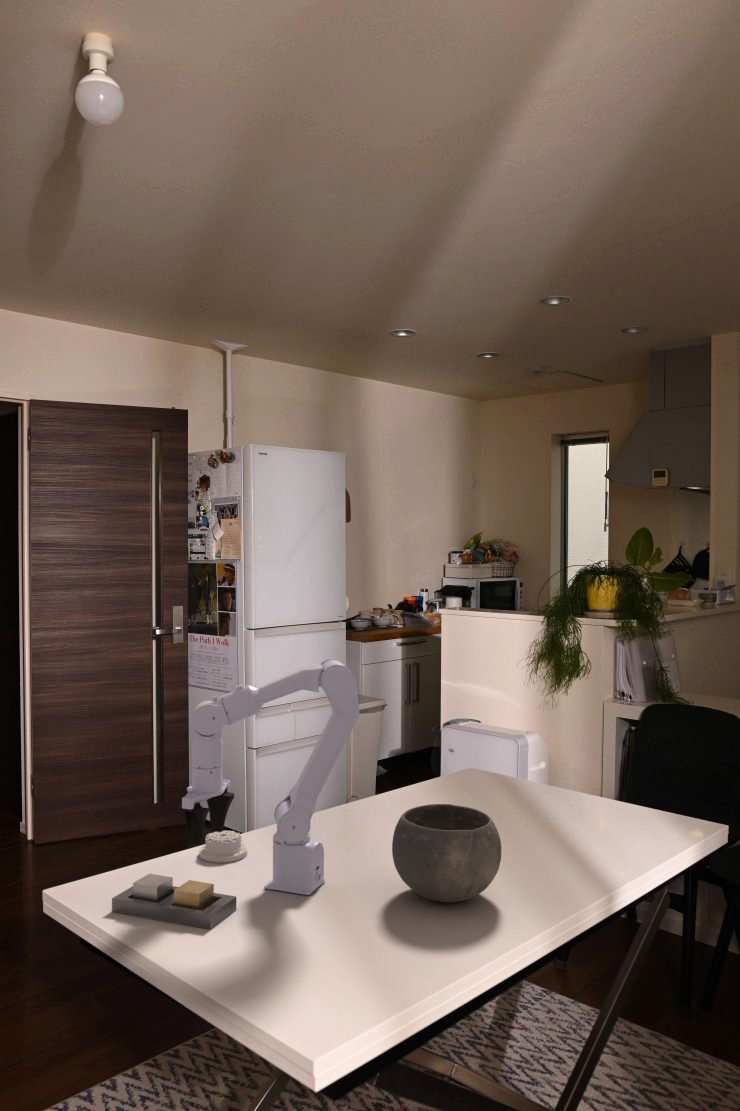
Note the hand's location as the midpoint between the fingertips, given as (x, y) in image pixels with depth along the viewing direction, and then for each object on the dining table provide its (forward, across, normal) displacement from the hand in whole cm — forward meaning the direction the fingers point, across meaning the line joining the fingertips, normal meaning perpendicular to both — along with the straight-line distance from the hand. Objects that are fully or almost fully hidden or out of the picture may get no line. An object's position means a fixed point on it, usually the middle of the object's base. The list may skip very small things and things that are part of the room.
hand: (206, 837), depth 171 cm
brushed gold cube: (+10, +11, +4) cm, 15 cm away
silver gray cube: (+10, +11, -4) cm, 16 cm away
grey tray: (+10, +11, 0) cm, 15 cm away
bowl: (+10, -14, +43) cm, 46 cm away
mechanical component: (+10, -18, -7) cm, 22 cm away
